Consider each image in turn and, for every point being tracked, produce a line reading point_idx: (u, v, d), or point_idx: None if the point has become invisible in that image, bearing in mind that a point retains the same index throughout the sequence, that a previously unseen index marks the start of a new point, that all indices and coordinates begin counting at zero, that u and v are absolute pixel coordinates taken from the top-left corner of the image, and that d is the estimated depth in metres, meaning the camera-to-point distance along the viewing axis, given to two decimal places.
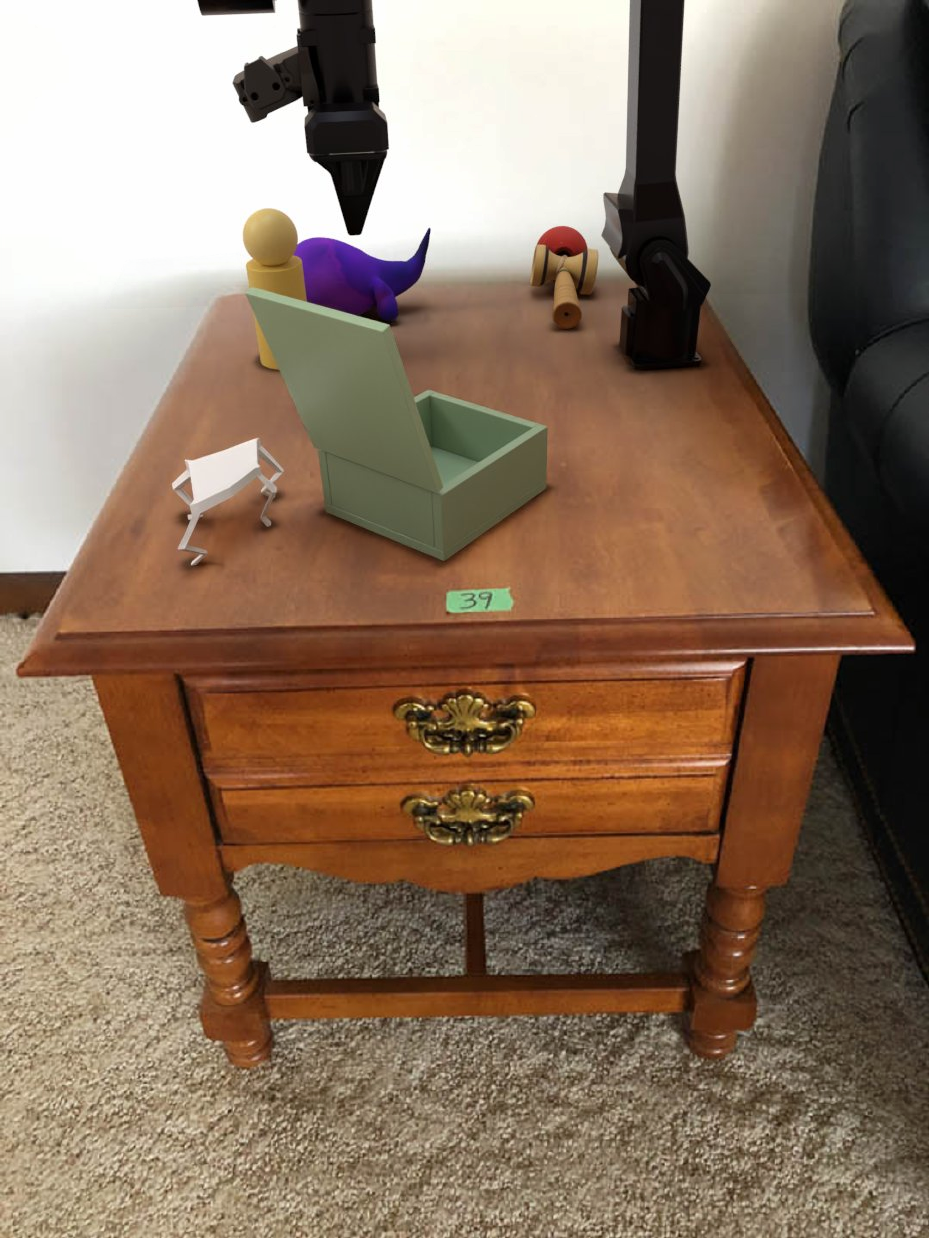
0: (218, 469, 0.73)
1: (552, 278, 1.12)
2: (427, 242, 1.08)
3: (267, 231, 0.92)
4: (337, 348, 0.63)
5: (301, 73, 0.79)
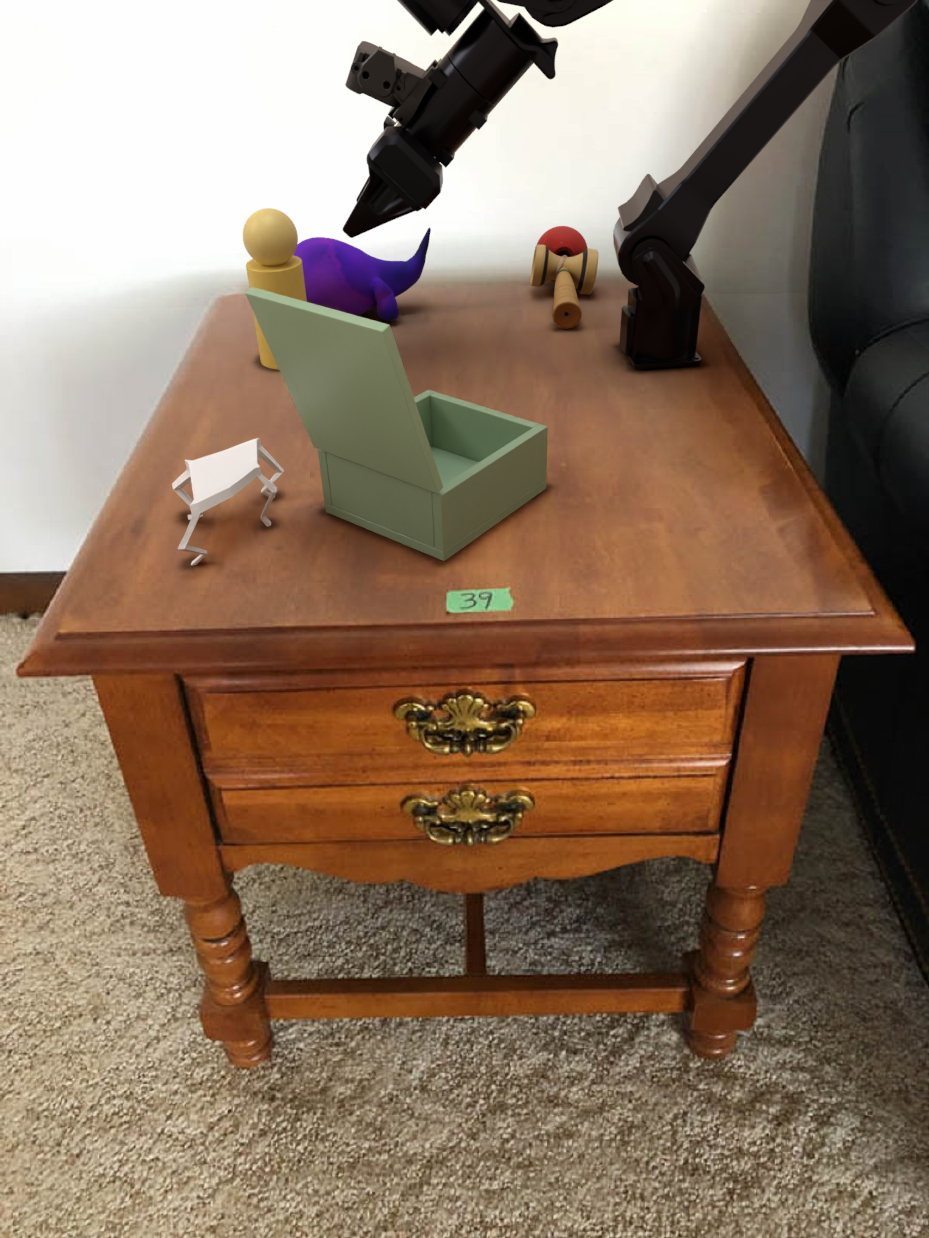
0: (218, 469, 0.73)
1: (552, 278, 1.12)
2: (427, 242, 1.08)
3: (267, 231, 0.92)
4: (337, 348, 0.63)
5: (411, 94, 0.84)
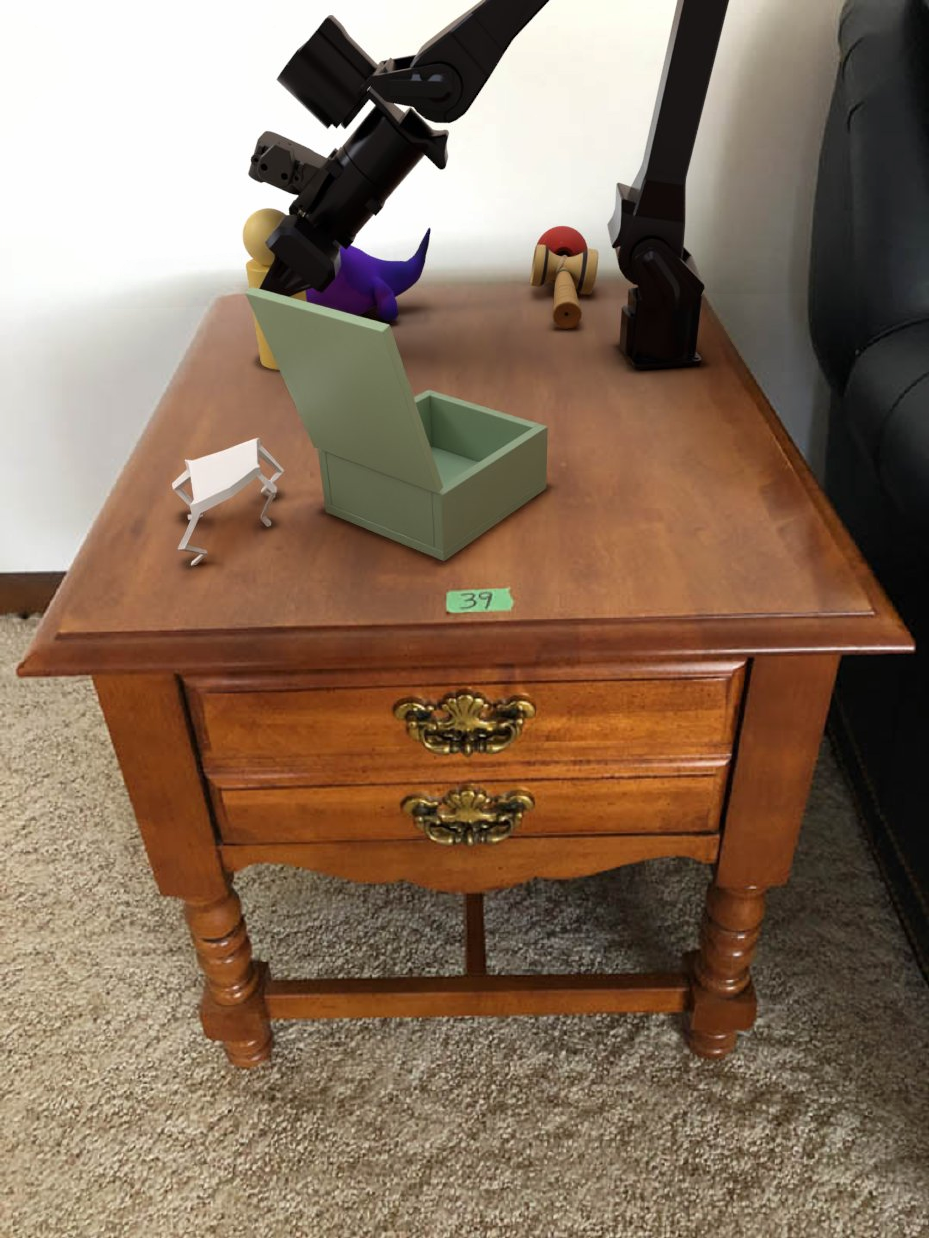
0: (218, 469, 0.73)
1: (552, 278, 1.12)
2: (427, 242, 1.08)
3: (267, 231, 0.92)
4: (337, 348, 0.63)
5: (310, 184, 0.89)
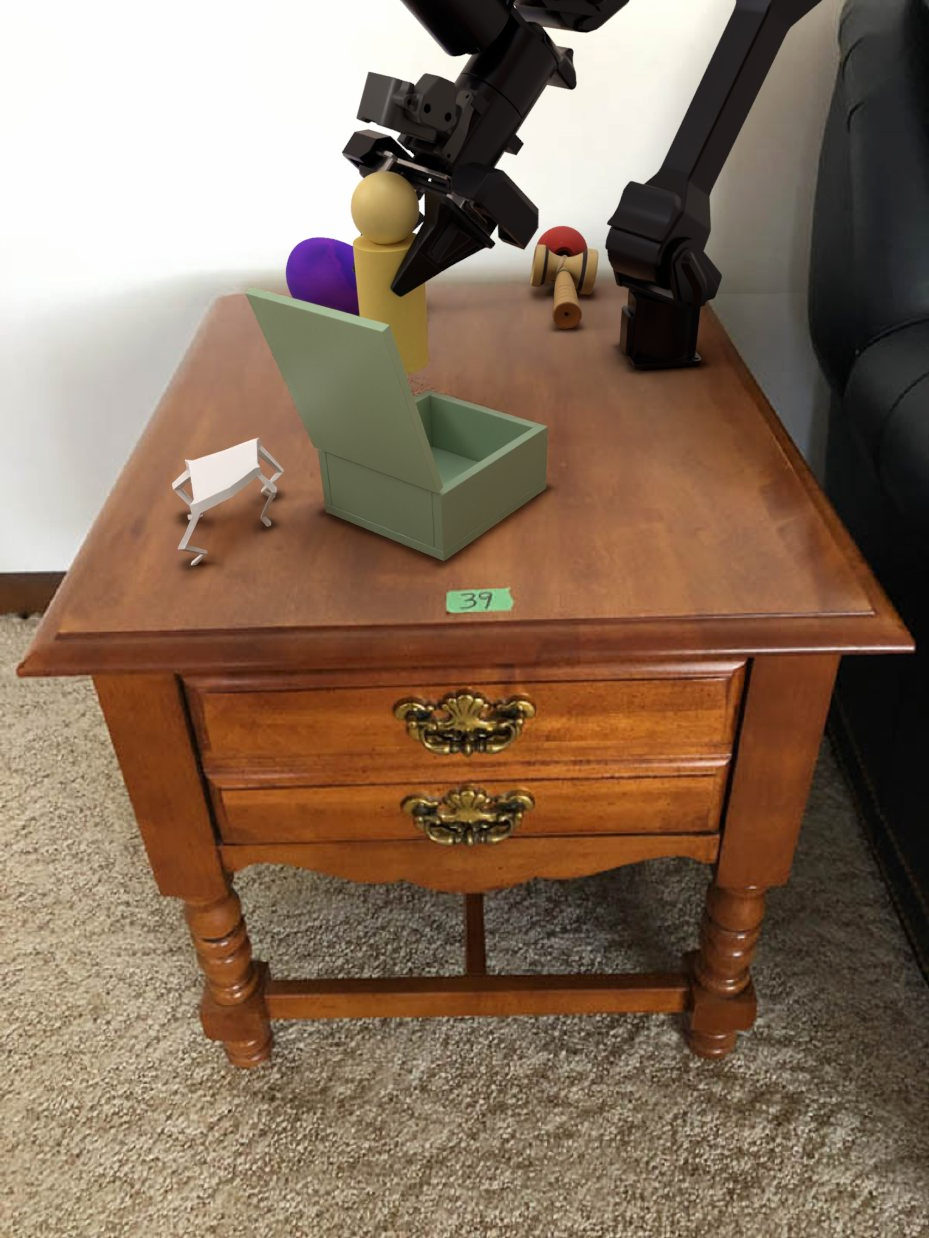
0: (218, 469, 0.73)
1: (552, 278, 1.12)
2: None
3: (403, 196, 0.73)
4: (337, 348, 0.63)
5: (459, 125, 0.72)
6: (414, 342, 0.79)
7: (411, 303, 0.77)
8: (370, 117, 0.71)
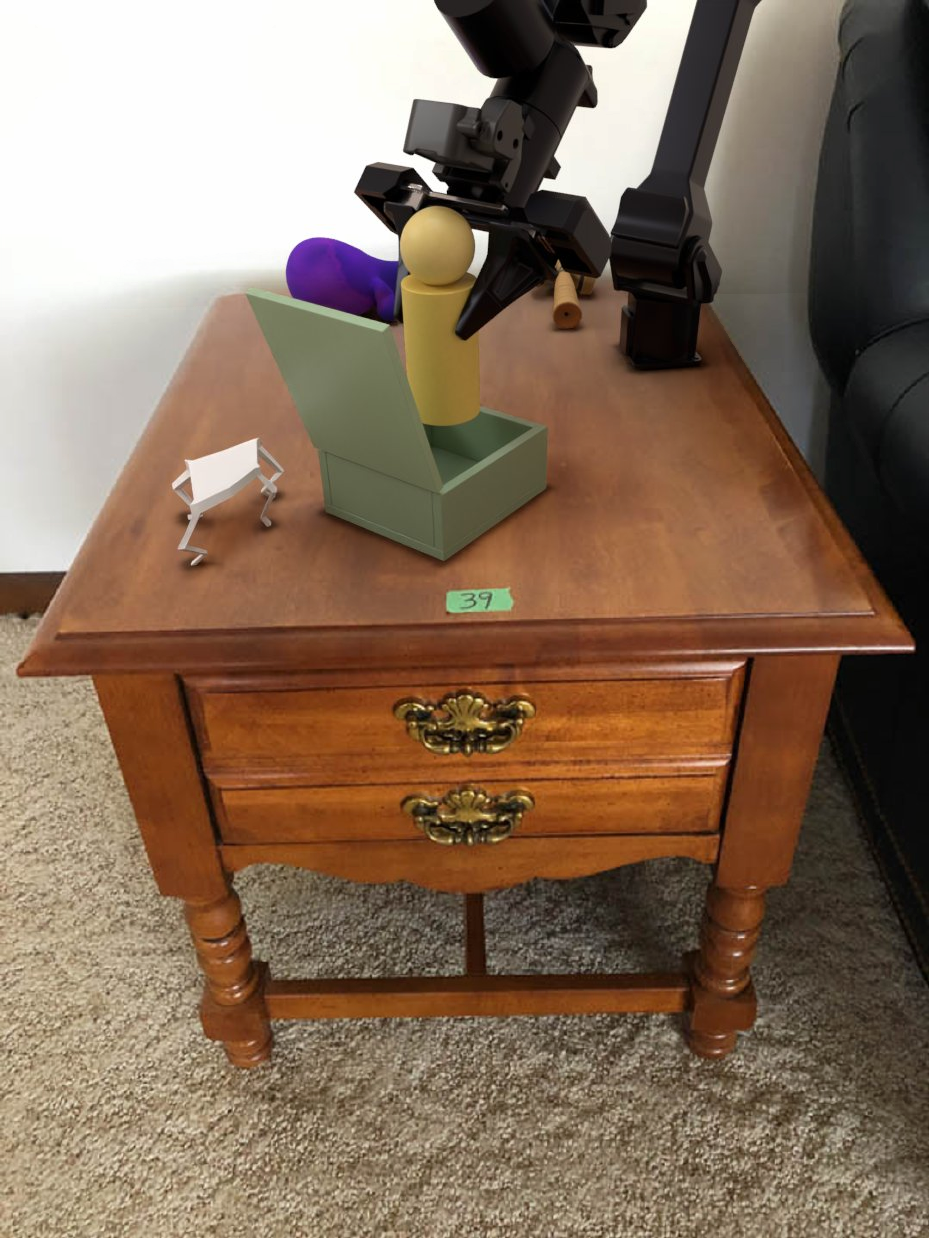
0: (218, 469, 0.73)
1: None
2: None
3: (466, 232, 0.67)
4: (337, 348, 0.63)
5: None
6: (473, 387, 0.73)
7: (471, 346, 0.71)
8: (427, 148, 0.64)
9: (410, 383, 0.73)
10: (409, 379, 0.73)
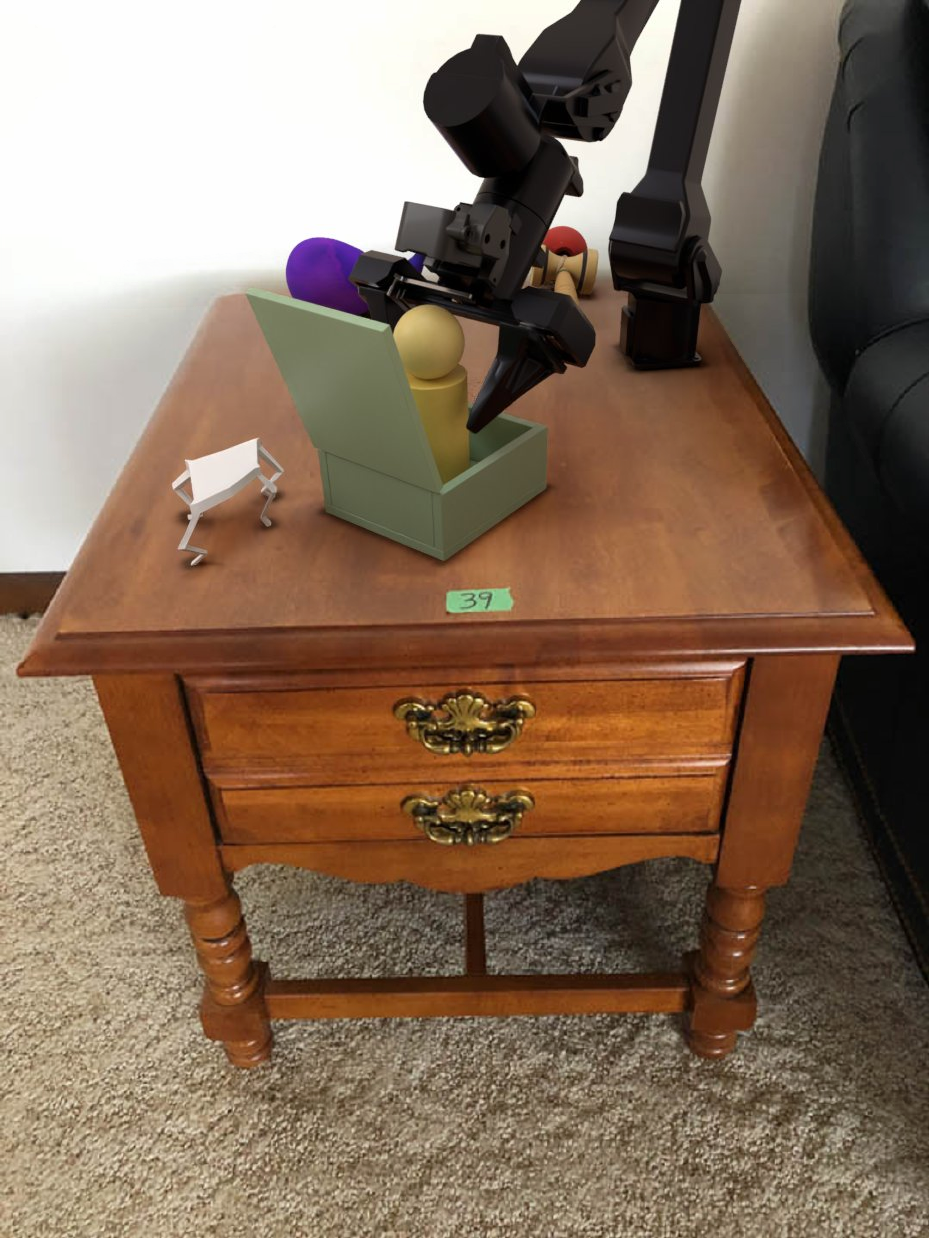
0: (218, 469, 0.73)
1: (552, 278, 1.12)
2: None
3: (455, 331, 0.70)
4: (337, 348, 0.63)
5: None
6: None
7: (462, 434, 0.74)
8: (418, 249, 0.67)
9: None
10: None
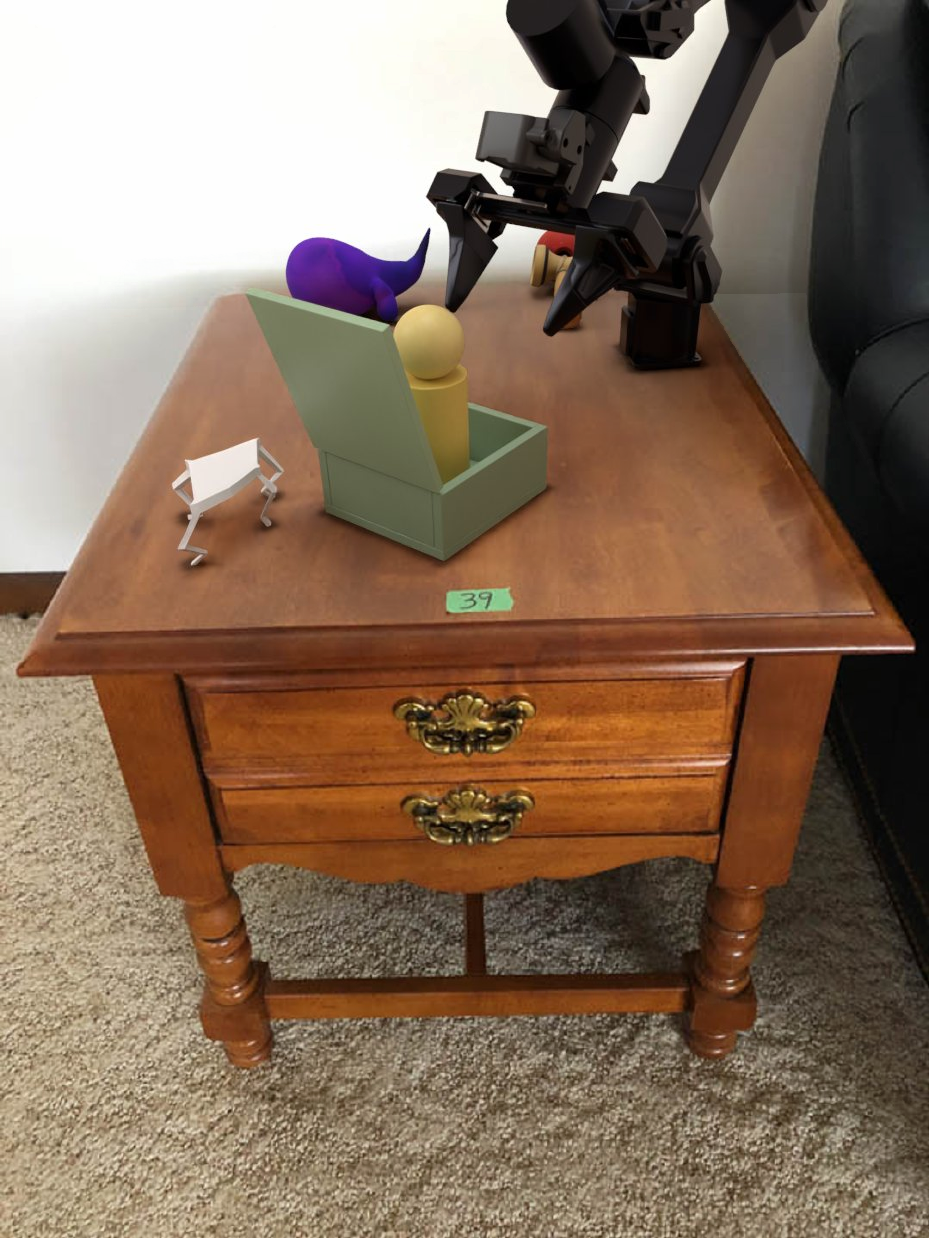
0: (218, 469, 0.73)
1: (552, 278, 1.12)
2: (427, 242, 1.08)
3: (455, 331, 0.70)
4: (337, 348, 0.63)
5: None
6: None
7: (462, 434, 0.74)
8: (498, 156, 0.70)
9: None
10: None
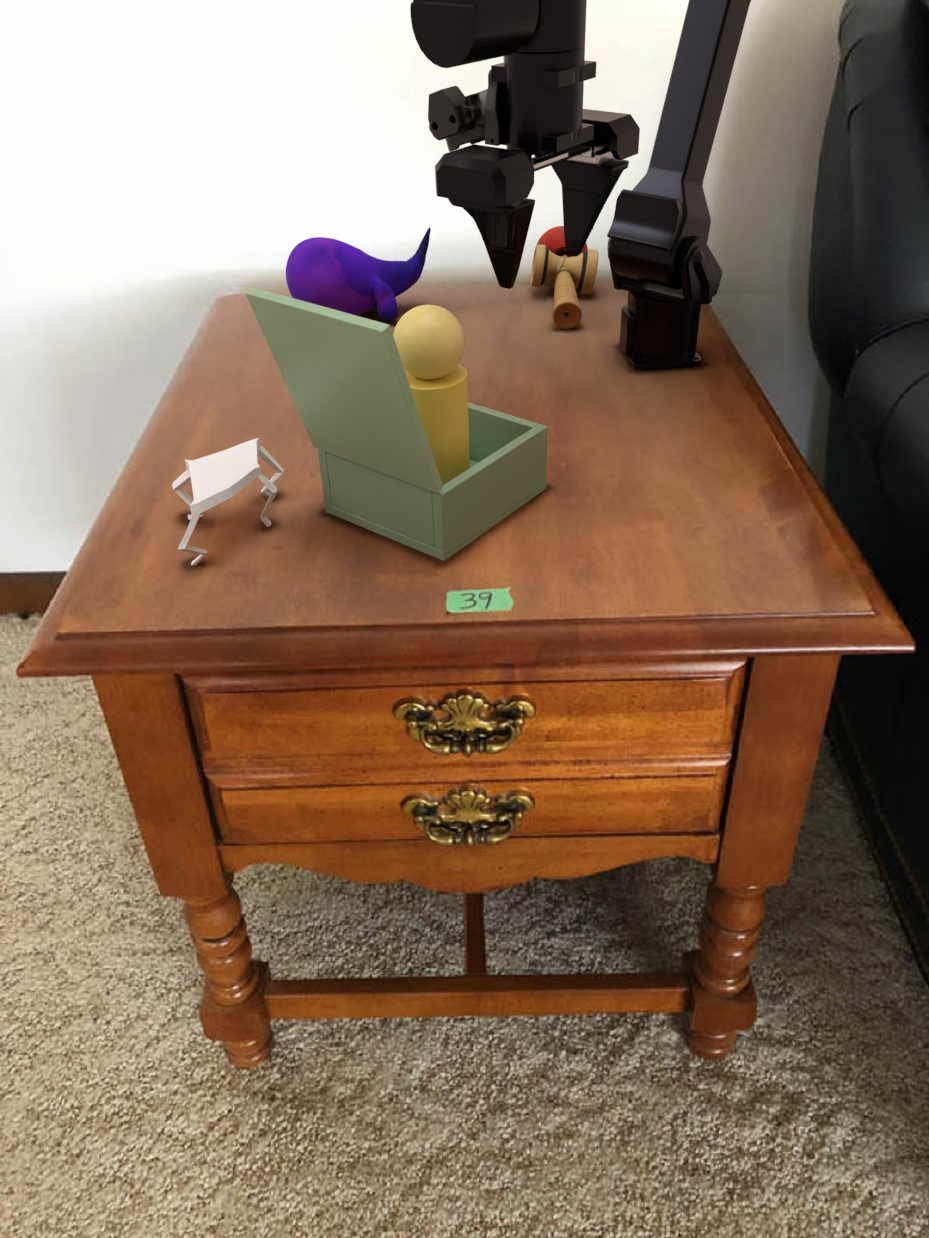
0: (218, 469, 0.73)
1: (552, 278, 1.12)
2: (427, 242, 1.08)
3: (455, 331, 0.70)
4: (337, 348, 0.63)
5: (485, 109, 0.74)
6: None
7: (462, 434, 0.74)
8: None
9: None
10: None
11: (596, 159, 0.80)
